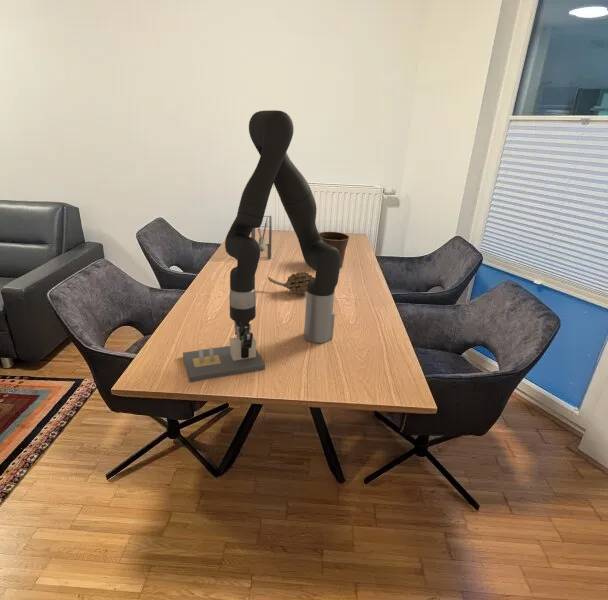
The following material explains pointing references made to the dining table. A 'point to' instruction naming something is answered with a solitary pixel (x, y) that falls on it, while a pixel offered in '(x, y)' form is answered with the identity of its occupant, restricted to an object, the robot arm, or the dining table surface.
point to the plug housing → (236, 349)
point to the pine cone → (296, 282)
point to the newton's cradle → (262, 239)
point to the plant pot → (336, 242)
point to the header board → (218, 363)
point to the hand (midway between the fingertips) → (243, 353)
